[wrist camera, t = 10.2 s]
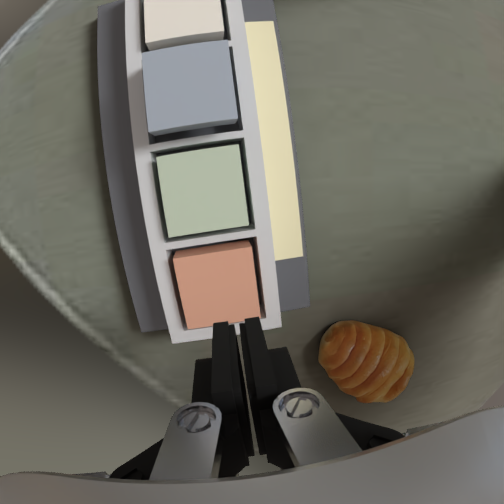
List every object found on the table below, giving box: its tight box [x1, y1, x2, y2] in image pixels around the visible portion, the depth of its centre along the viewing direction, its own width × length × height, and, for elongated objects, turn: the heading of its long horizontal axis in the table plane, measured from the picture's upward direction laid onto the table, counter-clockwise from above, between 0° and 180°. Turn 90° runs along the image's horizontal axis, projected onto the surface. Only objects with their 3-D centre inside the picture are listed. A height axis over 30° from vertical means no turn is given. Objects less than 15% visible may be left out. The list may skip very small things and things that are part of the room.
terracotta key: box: [173, 240, 261, 329], centre depth 19 cm, size 4×4×2 cm
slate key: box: [142, 40, 238, 136], centre depth 15 cm, size 4×4×2 cm
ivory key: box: [144, 0, 224, 51], centre depth 14 cm, size 4×4×2 cm
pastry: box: [318, 320, 414, 403], centre depth 24 cm, size 9×7×4 cm
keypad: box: [97, 0, 310, 344], centre depth 18 cm, size 12×24×4 cm, turn 7°
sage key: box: [156, 144, 249, 238], centre depth 17 cm, size 4×4×2 cm
